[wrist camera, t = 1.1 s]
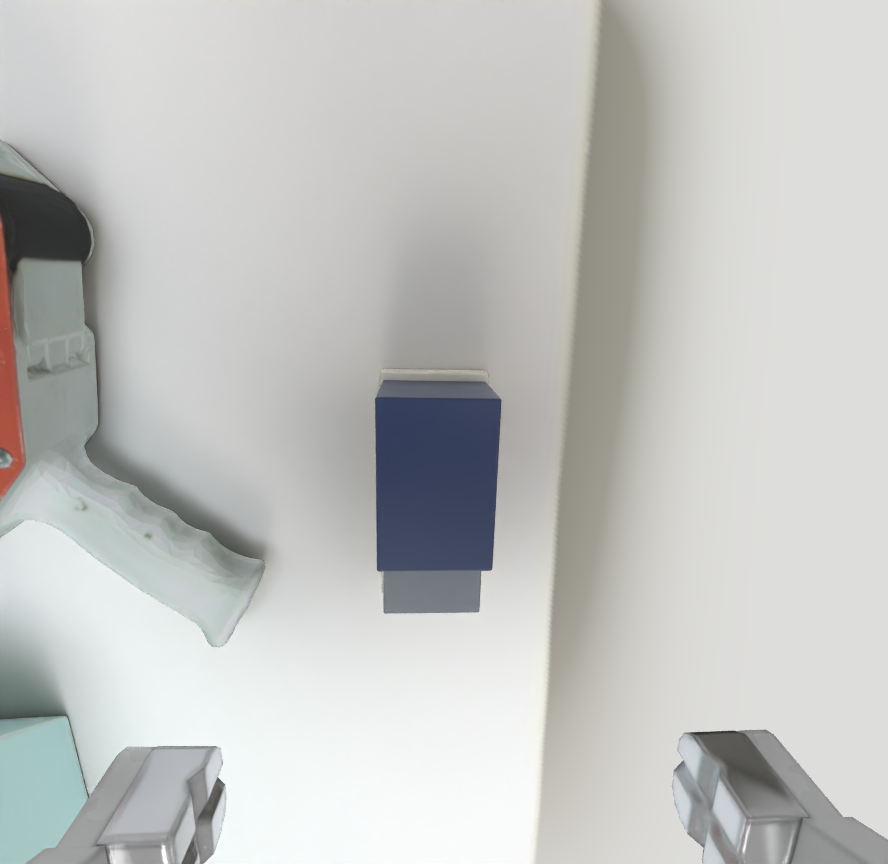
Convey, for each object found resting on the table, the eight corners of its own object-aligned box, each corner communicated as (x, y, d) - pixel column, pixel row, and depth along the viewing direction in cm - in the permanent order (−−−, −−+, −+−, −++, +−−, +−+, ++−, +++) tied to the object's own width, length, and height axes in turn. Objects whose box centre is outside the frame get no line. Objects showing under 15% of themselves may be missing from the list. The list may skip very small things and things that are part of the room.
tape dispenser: (283, 596, 25) (239, 150, 19) (257, 678, 20) (185, 108, 14) (-104, 615, 23) (-295, 127, 17) (-238, 711, 18) (-580, 70, 12)
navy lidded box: (381, 368, 21) (371, 388, 16) (484, 370, 21) (505, 390, 17) (383, 579, 24) (375, 650, 19) (475, 578, 24) (490, 649, 19)
